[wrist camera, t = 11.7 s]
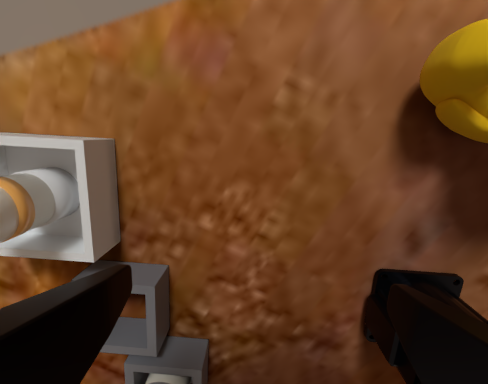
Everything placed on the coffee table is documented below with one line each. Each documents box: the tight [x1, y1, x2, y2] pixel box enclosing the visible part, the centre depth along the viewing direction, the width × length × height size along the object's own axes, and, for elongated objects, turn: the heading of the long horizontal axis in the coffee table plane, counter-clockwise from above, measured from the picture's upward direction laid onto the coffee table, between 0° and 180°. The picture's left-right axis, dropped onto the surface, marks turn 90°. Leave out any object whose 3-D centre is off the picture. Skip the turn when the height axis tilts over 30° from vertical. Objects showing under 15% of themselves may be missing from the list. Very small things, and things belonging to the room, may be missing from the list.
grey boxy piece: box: [124, 336, 209, 384], centre depth 22 cm, size 6×6×3 cm
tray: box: [0, 133, 121, 263], centre depth 18 cm, size 8×8×4 cm
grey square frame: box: [71, 260, 170, 357], centre depth 20 cm, size 6×6×3 cm
